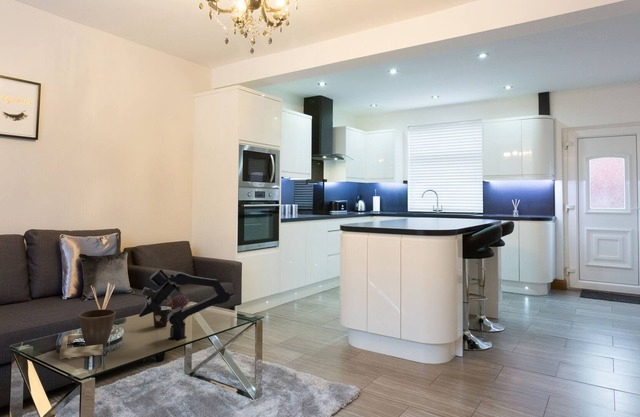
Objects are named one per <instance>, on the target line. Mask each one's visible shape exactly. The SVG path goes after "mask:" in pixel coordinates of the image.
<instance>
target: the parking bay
mask: <svg viewBox="0 0 640 417" xmlns="http://www.w3.org/2000/svg"><path fill="white" fill-rule="evenodd" d="M79 338H83V335H82V333H75V334H72V333H71V334H64V336H63V339H62V342H61V346H60V349H59V360H65V359H64V358H68V359H71V358H70V357H77V356H85V357H91V356H90V355H94V356H101V355H103V354H104V352H103V349H104V348H103V344H102V345H92V346H86V345H85V346H76V347H68V345H70V344H69V343H72V342H73V341H74V340H75V339H79ZM67 344H68V345H67ZM77 358H78V357H77Z"/></svg>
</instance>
